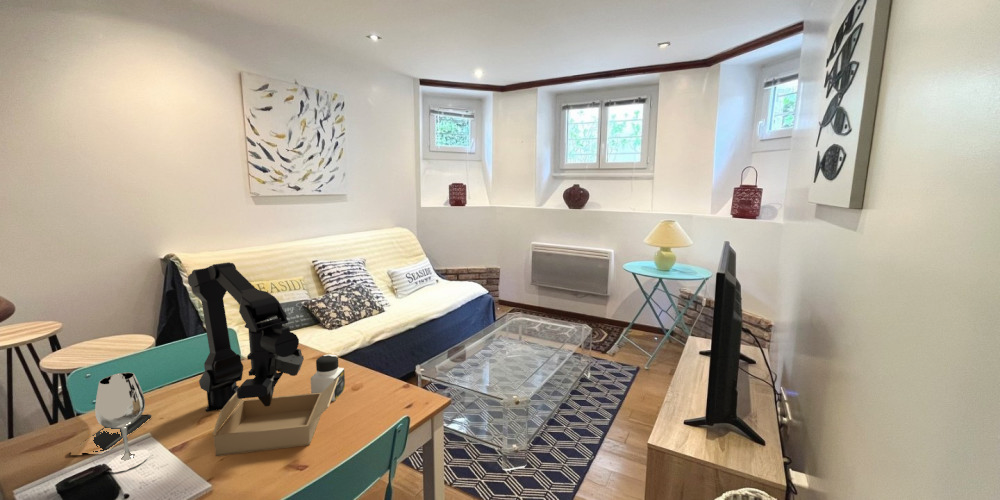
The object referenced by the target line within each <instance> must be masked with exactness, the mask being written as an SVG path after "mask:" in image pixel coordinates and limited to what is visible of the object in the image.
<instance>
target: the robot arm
mask: <svg viewBox="0 0 1000 500" xmlns="http://www.w3.org/2000/svg"><path fill="white" fill-rule="evenodd" d="M187 283H188V285H189V287H190V288H191V292H192V294H193V295H194V296H196V298H197V299H198V300H200V301H201V307H202V311H203V312H202V314H203V318H204V324H205V330H206V337H207V343H208V349H209V353H208V354H207V357H206V360H205V362H204V363H203V367H204V372H203V373H202V375H201V377H200V379H199V381H198V382H199V383H198V384H199V386H200V389H202V390H203V391H205V392H206V398H207V407H206V408H205V410H204V411H205V412H213V411H214V412H215V411H221V409H222V408H223V407H224V406H225V405H226V403H227V402H228V401H229V400H230V399H231V398H232V396H233V395H234V394H235V393H236V392H237V398H239V399H242V400H244V399H254V398H257V399H258V398H259V399H260V401H261V402H262V403H263V404H264V406H270V405H271V401H272V397H274V392H275V387H276V385H277V384H278V382H279V380H280V379H281V377H282V376H283V374H285V375H286V374H287V375H289V376H292V377H295V376H297V375H298V374H299V372H300V371H301V367H302V364H303V362H304V355H303V354H302V349H301V348H299V343H300V340H299V338H298V336H297V334H296V333H295V332H291V330H290V329H291V328H290V327H289V326H284V325H286V324H288V323H289V321H288V318H287V317H288V315H287V313H286V312H285V310H284V308H283V307H282V306H281V304H280V301H279V300H278V299H277V298H276V297H275V296H274V295H273V294H271V293H270V292H268V291H265V290H261V289H258V288H256V287H255V285H253V284H252V283H251V282H250V281H249V280H248V279H247V278H246V277H245V276H244V275H243V274H242V273H241V272H240V271H239V270H238V269H237V267H236V265H235V263H233V262H220V263H215V264H214V263H213V264H212V265H209V266H207V267H205V268H199V269H198V268H197V269H192V272H191V273H190V274H188V275H187ZM226 293H228V294H229V295H230V296H231V297H232V298H233V299H234V300H235V301H236V303H237V304H238V305H239V310H238V313H239V314H240V316H241V318H242V320H243V321H244V323H245V324H244V327H245V328H246V329H248V340H249V353H248V355H246V357H247V360H248V361H249V360H250V366H251V368H250V370H249V371H248V376H249V377H251V376H254V377H253V378H247V379H246V380H245V381H244V382H243V383H241V385H240V386H239V385H237V382H240V381H242V380H243V373H244V365H243V362H242V358H241V355H240V354H239V353H238V354H237V353H236V352H235V351H234V350H233V349H232V347H231V340H230V334H229V328H228V321H227V314H226V308H225V303H224V297H225V295H226Z"/></svg>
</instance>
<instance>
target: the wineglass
mask: <svg viewBox="0 0 1000 500" xmlns="http://www.w3.org/2000/svg"><path fill="white" fill-rule="evenodd" d="M94 406H95V407H94V409H95V411H94V412H95V414H94V415H95V418H96V421H97V422H98V423H99V425H100V426H103V428H104V427H106V428H111V429H120V430H121V432H122V436H123V441H122V442H123V449H124V453H123V454H124V456H123V457H122V458H121V460H124V461H126V460H129V459H131V458H134V456H135V454H131V453H130V451H131V450H130V449H129V441H128V440H129V439H128V437H127V427H128V426H129V425H131V424H132V423H134V422H135V421H136V420H137V419H138V418H139V417H140V416H141V415H143V413H144V411H145V408H146V399H145V395H144V392H143V390H142V387H141V385H140V382H139V380H138V379H137V377H136V375H135V373H134V372H130V371H129V372H128V371H127V372H120V373H115V374H112V375H109V376H105V377H103V378H102V379H100V380H99V381H98V386H97V392H96V399H95V405H94Z"/></svg>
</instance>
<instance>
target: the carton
mask: <svg viewBox="0 0 1000 500" xmlns="http://www.w3.org/2000/svg"><path fill="white" fill-rule="evenodd" d="M321 394H322V393H303V394H301V393H300V394H292V395H280V396H272V401H271V405H270V406H264V404H263V403H262V402H261V401H260V399H259V398H258V397H257V398H246V399H242V400H241V401H240V403H239V404H238V405H237V407H236V408H235V409H234V410H233V412H232V413H231V414H230V415H229V417H228V418H227V419H226V421H225V422H224V423H223V424H222V426H221V427H220V428H219V429H218V431H217V432H216V433H215V435H214V434H213V442H214V444H213V445H214V453H215V455H214V456H215V457H221V456H229V455H238V454H246V453H255V452H261V451H262V452H264V451H271V450H278V449H287V448H295V447H304V446H310V445H311V443H312V441H313V440H312V439H313V438H314V435H315V431H316V430H317V427H318V425H319V421H320V420H321V419H320V418H321V417H322V414H321V415H320V416H319V417H318V418H317V419H316V420H315V421H314V422H313V423H312V424H311V425H309V423H310V421H311V418H312V416H313V413H314V411H315V409H316V406H317V404H318V401H319V399H320V397H321Z"/></svg>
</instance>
